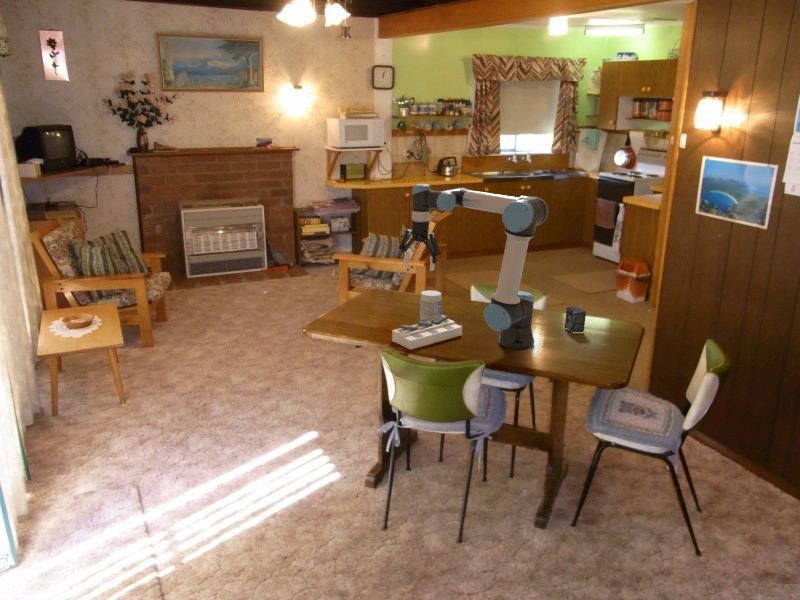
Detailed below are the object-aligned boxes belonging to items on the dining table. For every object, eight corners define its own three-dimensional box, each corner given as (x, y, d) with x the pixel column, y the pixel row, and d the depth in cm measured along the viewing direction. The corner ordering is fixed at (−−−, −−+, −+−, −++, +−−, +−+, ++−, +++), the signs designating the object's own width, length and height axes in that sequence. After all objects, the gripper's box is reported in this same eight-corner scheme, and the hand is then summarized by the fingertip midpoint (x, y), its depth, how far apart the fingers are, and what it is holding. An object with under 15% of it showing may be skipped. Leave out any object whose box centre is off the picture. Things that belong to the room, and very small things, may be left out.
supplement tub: (442, 326, 316) (443, 296, 312) (421, 327, 315) (422, 296, 310) (438, 319, 325) (439, 289, 321) (418, 320, 324) (419, 290, 319)
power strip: (471, 332, 310) (472, 321, 308) (410, 349, 287) (410, 338, 286) (452, 325, 318) (453, 314, 317) (392, 341, 296) (392, 330, 295)
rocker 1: (416, 330, 297) (417, 327, 297) (404, 330, 292) (405, 326, 292) (411, 328, 299) (412, 325, 299) (399, 328, 294) (400, 324, 294)
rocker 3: (447, 319, 308) (447, 316, 307) (436, 325, 304) (436, 322, 303) (442, 317, 310) (442, 314, 309) (431, 323, 306) (431, 320, 306)
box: (564, 328, 318) (566, 306, 315) (574, 327, 320) (577, 306, 316) (572, 334, 311) (575, 312, 308) (584, 333, 312) (586, 311, 309)
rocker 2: (432, 326, 302) (432, 323, 302) (420, 326, 298) (421, 322, 297) (427, 324, 305) (428, 321, 304) (415, 324, 300) (416, 320, 300)
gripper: (449, 222, 295) (447, 270, 301) (401, 215, 308) (400, 262, 314) (440, 225, 289) (438, 274, 295) (391, 218, 302) (391, 265, 308)
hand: (419, 268), depth 305 cm, fingers open, 13 cm apart
